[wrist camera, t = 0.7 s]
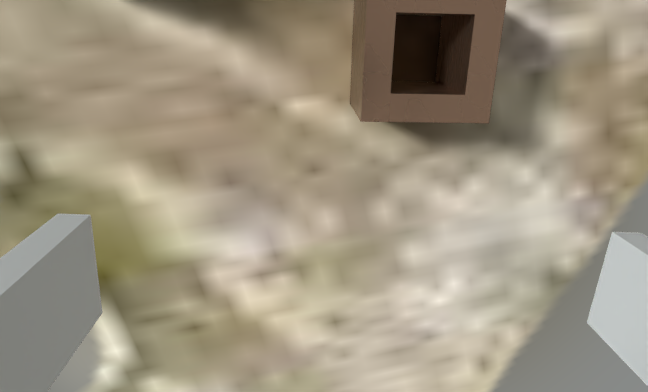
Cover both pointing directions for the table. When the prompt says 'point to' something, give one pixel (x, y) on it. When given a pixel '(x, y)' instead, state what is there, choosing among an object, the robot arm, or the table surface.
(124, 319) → the table surface
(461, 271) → the table surface
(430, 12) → the link
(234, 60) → the table surface
